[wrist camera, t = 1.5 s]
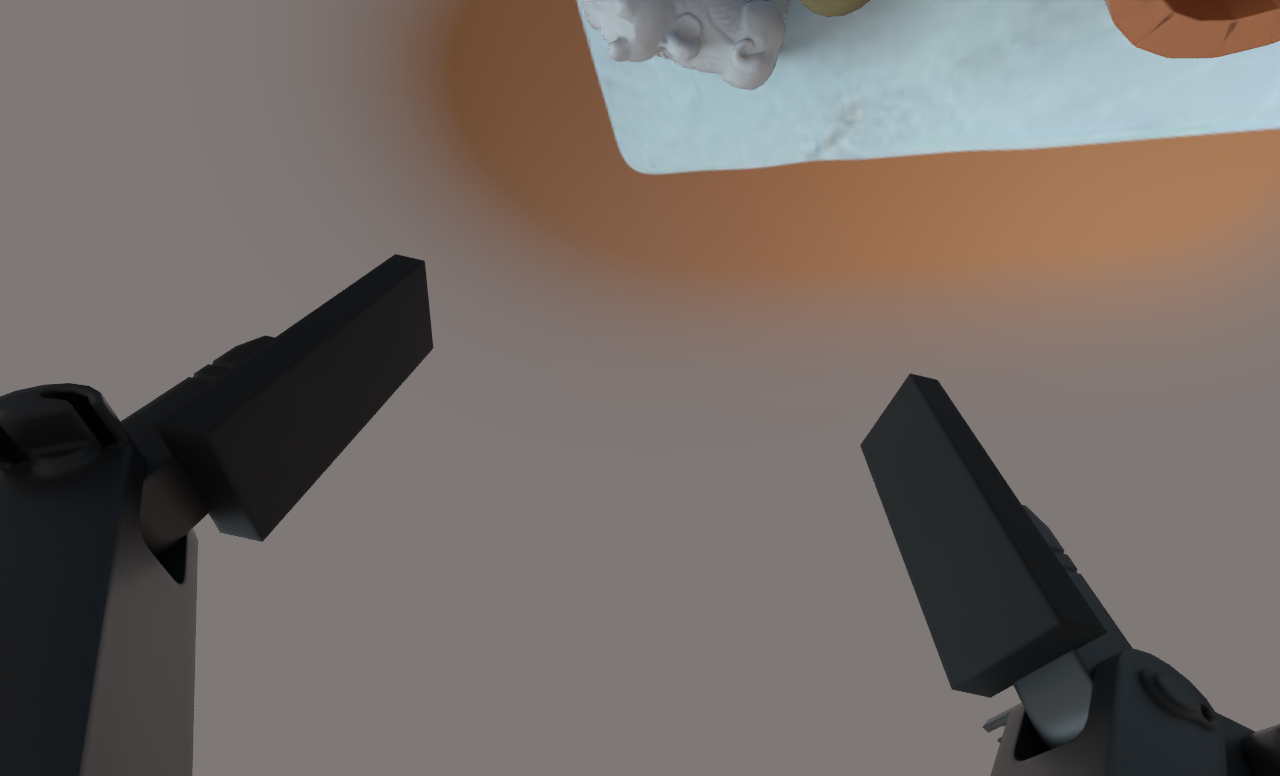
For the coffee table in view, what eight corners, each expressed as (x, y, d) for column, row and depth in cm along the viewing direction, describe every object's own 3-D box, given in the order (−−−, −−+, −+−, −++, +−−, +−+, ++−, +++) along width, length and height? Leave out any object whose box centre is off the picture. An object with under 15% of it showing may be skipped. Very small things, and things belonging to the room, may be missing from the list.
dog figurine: (639, -90, 32) (571, -39, 26) (811, -14, 31) (777, 52, 26) (626, 2, 36) (565, 61, 31) (775, 69, 36) (740, 140, 31)
